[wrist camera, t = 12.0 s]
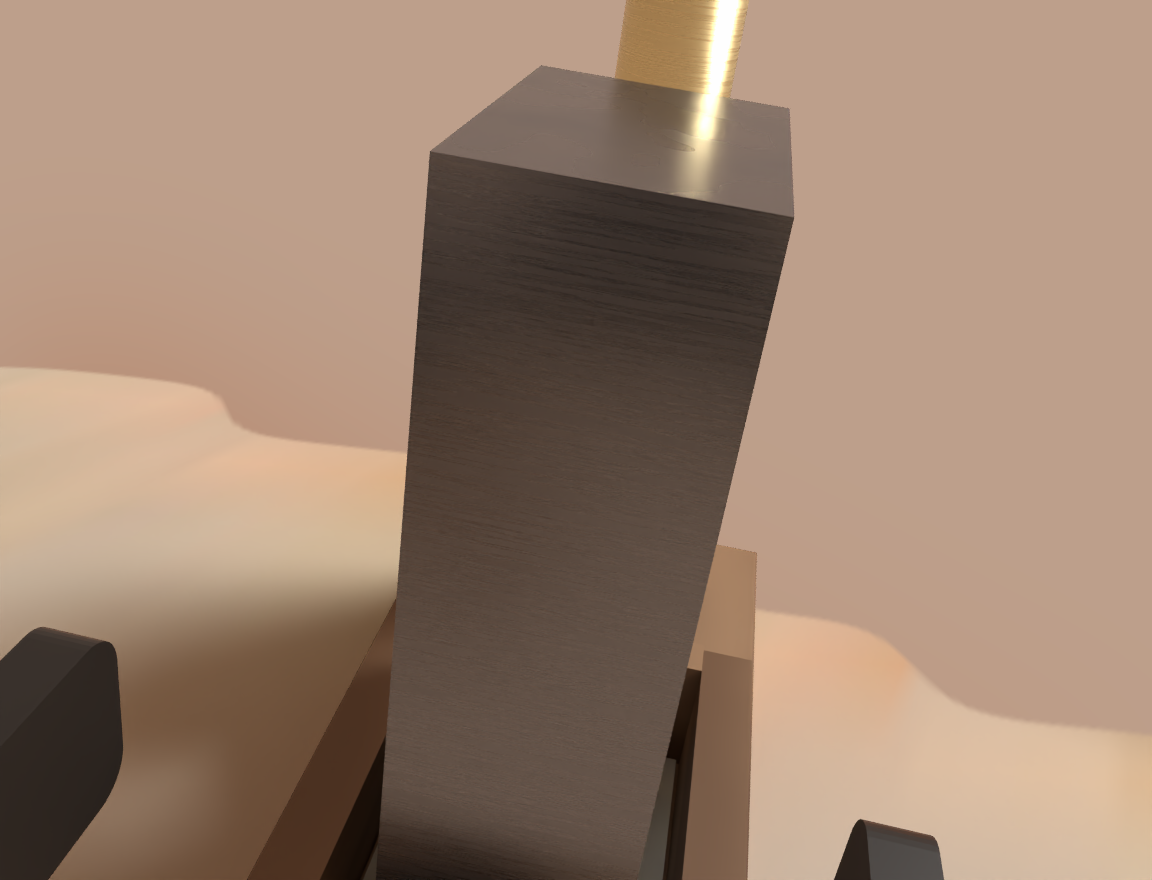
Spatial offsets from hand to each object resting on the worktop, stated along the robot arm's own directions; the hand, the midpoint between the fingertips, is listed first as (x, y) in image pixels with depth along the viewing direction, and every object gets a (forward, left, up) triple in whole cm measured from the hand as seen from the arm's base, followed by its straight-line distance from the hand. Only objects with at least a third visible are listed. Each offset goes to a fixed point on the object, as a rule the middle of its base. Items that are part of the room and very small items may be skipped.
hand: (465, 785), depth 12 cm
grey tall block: (0, -8, -11) cm, 13 cm away
